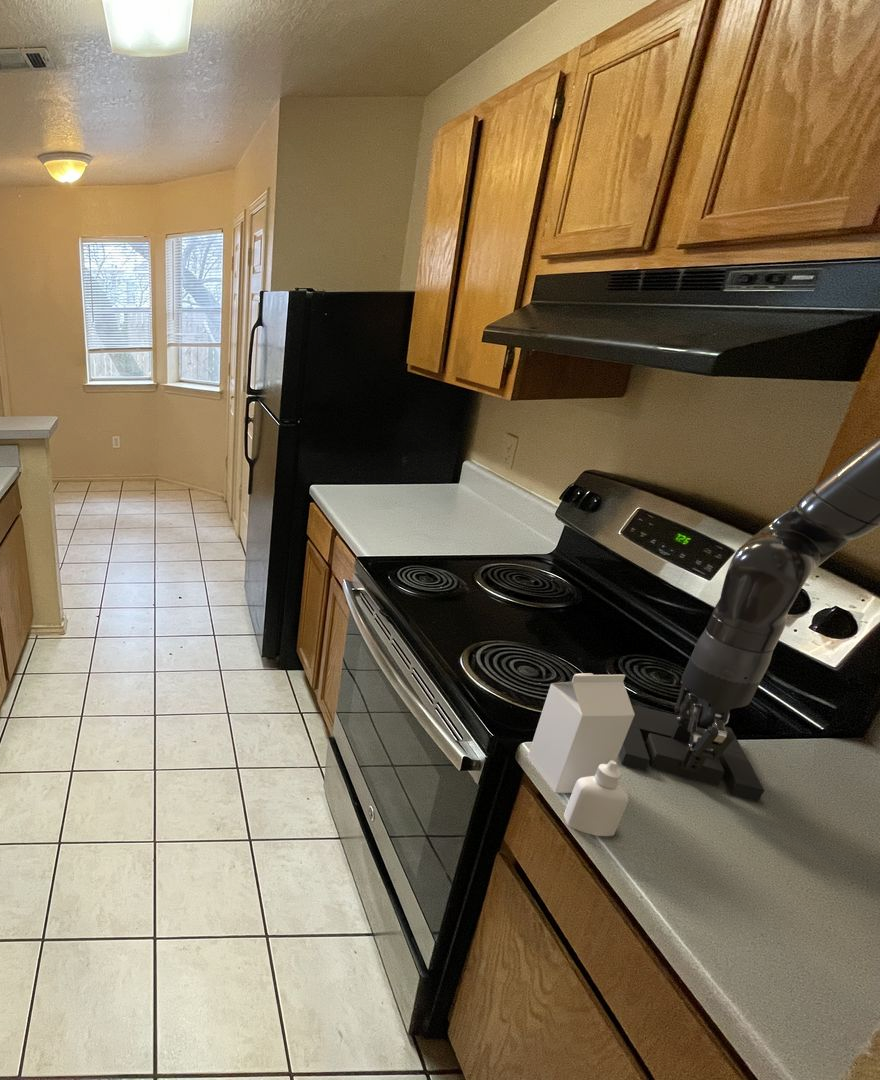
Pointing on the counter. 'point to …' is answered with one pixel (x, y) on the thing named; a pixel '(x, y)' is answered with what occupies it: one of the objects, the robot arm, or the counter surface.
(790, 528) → the robot arm
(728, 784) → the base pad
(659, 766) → the small pad
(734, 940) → the counter surface
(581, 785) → the eye dropper bottle
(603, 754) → the milk carton
